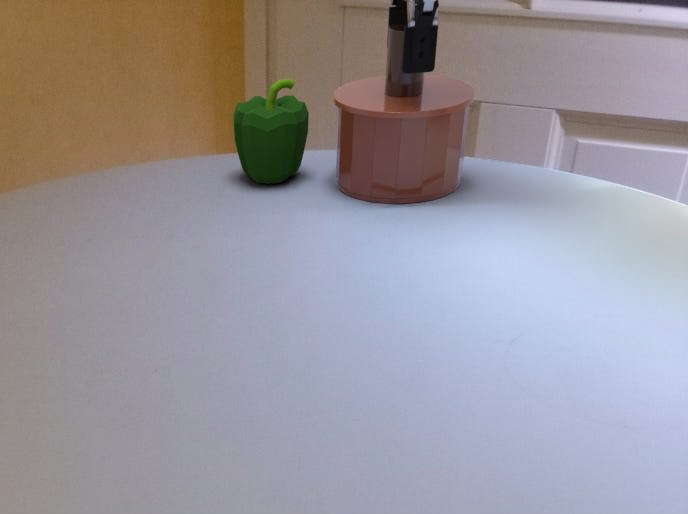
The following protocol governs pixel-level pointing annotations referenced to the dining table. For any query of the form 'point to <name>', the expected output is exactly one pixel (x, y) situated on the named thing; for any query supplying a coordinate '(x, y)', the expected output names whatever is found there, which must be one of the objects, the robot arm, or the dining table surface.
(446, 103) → the lid
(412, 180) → the brown pot
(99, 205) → the dining table surface
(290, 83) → the bell pepper
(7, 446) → the dining table surface
